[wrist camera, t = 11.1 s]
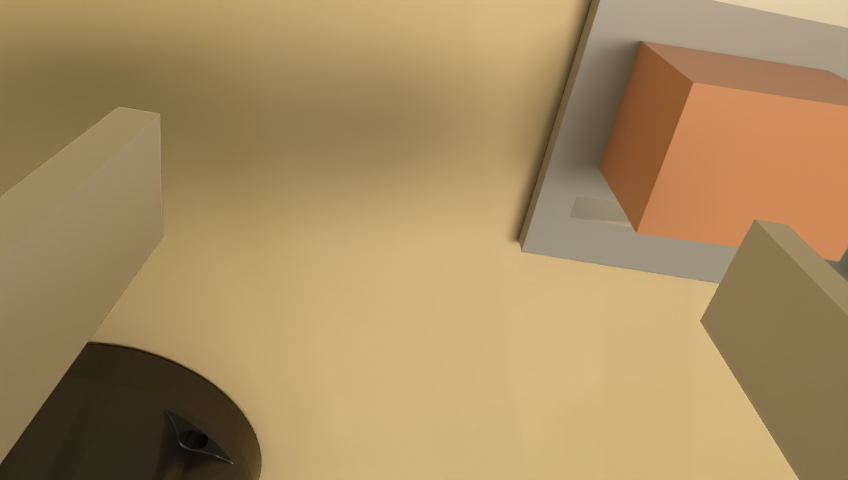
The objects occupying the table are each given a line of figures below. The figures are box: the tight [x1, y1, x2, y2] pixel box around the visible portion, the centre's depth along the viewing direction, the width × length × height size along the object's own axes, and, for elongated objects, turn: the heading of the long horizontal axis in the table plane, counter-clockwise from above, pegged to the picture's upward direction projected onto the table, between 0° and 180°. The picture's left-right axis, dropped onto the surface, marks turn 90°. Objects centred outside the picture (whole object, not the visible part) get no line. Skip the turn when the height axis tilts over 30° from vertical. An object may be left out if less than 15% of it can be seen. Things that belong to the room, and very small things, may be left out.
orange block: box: [600, 41, 848, 261], centre depth 21 cm, size 7×5×5 cm
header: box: [519, 0, 848, 284], centre depth 21 cm, size 16×14×7 cm
